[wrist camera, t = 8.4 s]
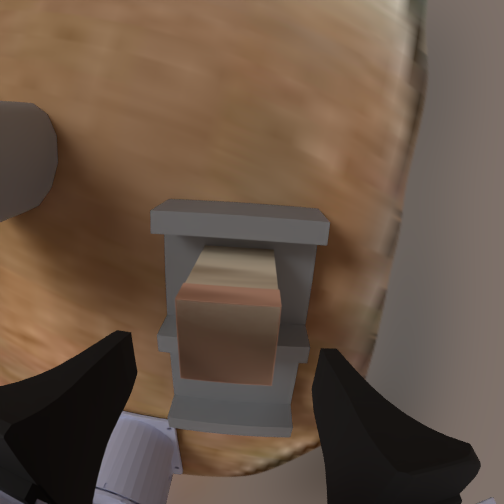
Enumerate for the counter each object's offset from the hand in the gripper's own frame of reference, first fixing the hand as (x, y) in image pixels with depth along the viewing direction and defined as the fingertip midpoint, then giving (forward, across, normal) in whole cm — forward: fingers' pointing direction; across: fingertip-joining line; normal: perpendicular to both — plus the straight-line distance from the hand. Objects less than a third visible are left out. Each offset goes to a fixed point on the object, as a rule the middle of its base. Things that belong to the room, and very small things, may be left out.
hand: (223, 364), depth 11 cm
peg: (+8, 0, 0) cm, 8 cm away
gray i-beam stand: (+9, 0, +4) cm, 10 cm away
